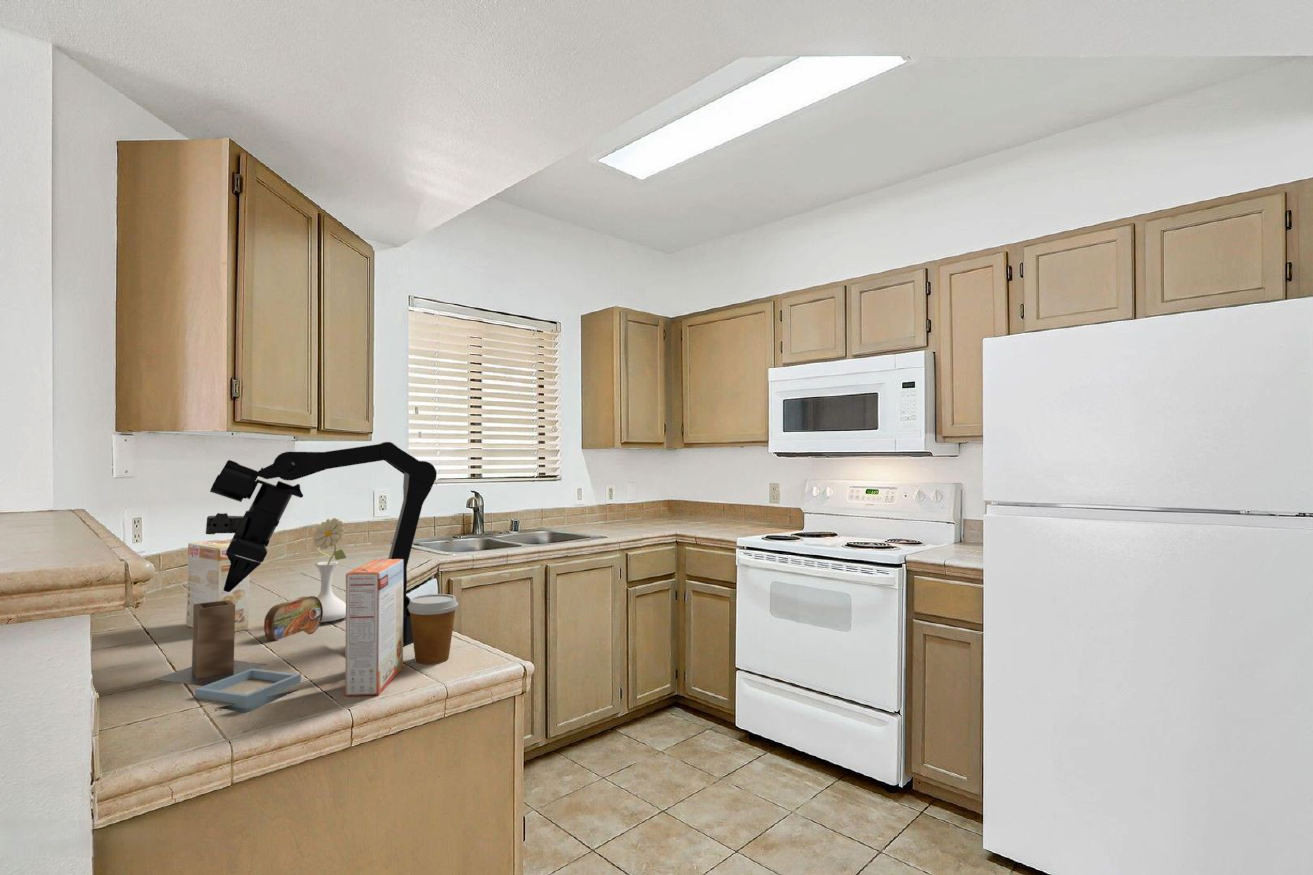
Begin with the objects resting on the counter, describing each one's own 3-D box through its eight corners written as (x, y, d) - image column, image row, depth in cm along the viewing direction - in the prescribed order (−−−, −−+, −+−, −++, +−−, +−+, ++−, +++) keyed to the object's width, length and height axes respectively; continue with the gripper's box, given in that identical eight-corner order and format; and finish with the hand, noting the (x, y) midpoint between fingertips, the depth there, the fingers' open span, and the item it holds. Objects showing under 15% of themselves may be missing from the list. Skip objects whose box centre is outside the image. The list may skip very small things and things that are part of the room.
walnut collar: (227, 664, 121) (228, 599, 121) (233, 671, 117) (235, 604, 117) (191, 671, 117) (193, 604, 117) (197, 678, 113) (199, 609, 114)
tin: (273, 648, 135) (274, 607, 135) (260, 647, 136) (261, 606, 136) (323, 629, 150) (324, 592, 150) (312, 628, 151) (312, 591, 151)
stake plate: (267, 670, 121) (267, 642, 121) (206, 693, 110) (207, 662, 110) (217, 664, 124) (218, 637, 125) (153, 685, 113) (154, 655, 113)
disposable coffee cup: (466, 655, 132) (467, 595, 132) (436, 669, 123) (437, 605, 123) (428, 650, 135) (429, 591, 135) (395, 663, 126) (396, 601, 126)
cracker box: (371, 669, 122) (373, 558, 123) (404, 668, 123) (406, 558, 124) (341, 697, 109) (344, 571, 109) (378, 696, 109) (381, 571, 110)
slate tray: (300, 689, 112) (300, 674, 112) (246, 712, 102) (246, 696, 102) (252, 682, 115) (252, 668, 115) (194, 704, 105) (195, 689, 105)
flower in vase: (289, 621, 157) (291, 517, 157) (335, 611, 166) (337, 514, 167) (317, 630, 149) (320, 520, 150) (364, 619, 158) (366, 517, 159)
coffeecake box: (249, 629, 149) (251, 544, 150) (215, 636, 143) (217, 547, 144) (218, 619, 157) (220, 539, 158) (184, 626, 151) (186, 542, 152)
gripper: (225, 493, 133) (186, 566, 129) (218, 498, 117) (174, 582, 113) (282, 512, 138) (246, 583, 134) (283, 520, 122) (243, 601, 118)
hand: (227, 586), depth 125 cm, fingers open, 9 cm apart
